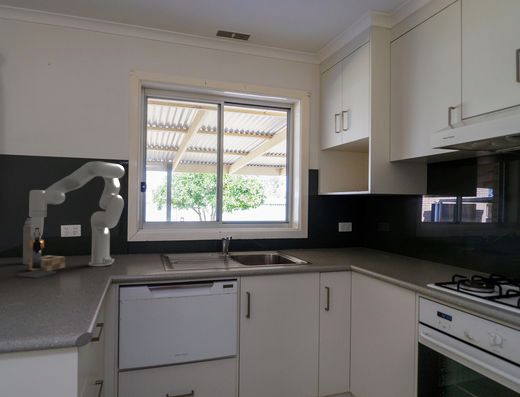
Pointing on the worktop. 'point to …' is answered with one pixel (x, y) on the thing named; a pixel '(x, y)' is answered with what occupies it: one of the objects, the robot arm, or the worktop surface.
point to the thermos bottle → (27, 241)
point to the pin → (36, 255)
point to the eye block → (49, 263)
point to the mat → (36, 274)
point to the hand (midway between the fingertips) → (37, 248)
